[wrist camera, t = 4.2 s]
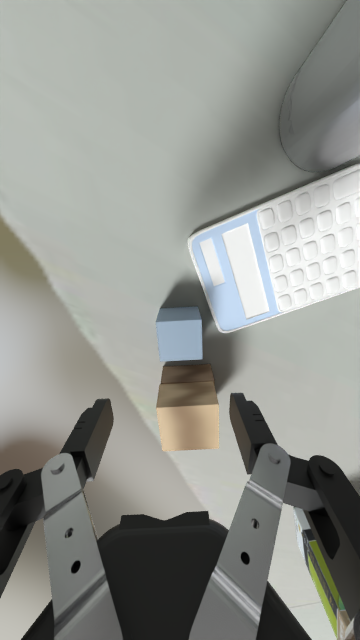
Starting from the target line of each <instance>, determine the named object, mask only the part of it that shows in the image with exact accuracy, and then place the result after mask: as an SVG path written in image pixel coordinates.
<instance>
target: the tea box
mask: <svg viewBox="0 0 360 640" xmlns="http://www.w3.org/2000/svg"><path fill="white" fill-rule="evenodd" d="M293 509H294V517H295V525H296V533H297V541H298V546H299V548H300V551H301V553H302V556H303V558H304V560H305V563H306V565H307V567H308V570H309V572H310V575H311V577H312V580H313V582H314V585H315V587H316V589H317V592H318V594H319V597H320V599H321V602H322V604H323V606H324V609H325V611H326V614H327V616H328V618H329V621H330V623H331V626H332V628H333V631H334V633H335V636H336V638H337V640H345V631H346V629H347V627H348V625H349V624H350V622H351V621H350V619H349V616H348V614H347V612H346V609H345V607H344V605H343V602H342V600H341V598H340V595H339V593H338V591H337V589H336V586H335V584H334V582H333V579H332V577H331V575H330V572H329V570H328V568H327V565H326V563H325V561H324V558H323V556H322V554H321V551H320V549H319V547H318V544H317V542H316V540H315V537H314V535H313V533H312V530H311V528H310V526H309V523H308V521H307V519H306V516H305V514H304V512H303V509H300V508H297V507H295V508H293Z"/></svg>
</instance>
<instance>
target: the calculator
mask: <svg viewBox="0 0 360 640" xmlns="http://www.w3.org/2000/svg"><path fill="white" fill-rule="evenodd" d="M347 196H348V197H347ZM342 198H343V199H342ZM286 200H287V201H286ZM322 206H323V207H322ZM272 226H273V227H272ZM325 230H326V231H325ZM322 231H323V232H322ZM304 238H305V239H304ZM188 248H189V251H190V255H191V257H192V260H193V263H194V266H195V269H196V271H197V274H198V277H199V280H200V283H201V285H202V288H203V291H204V294H205V297H206V299H207V302H208V305H209V308H210V311H211V313H212V316H213V319H214V322H215V324H216V327H217V328H218V330H219V331H220V332H222V333H229V332H233V331H236V330H239V329H242V328H245V327H248V326H251V325H253V324H256V323H259V322H262V321H265V320H268V319H271V318H274V317H276V316H279V315H282V314H285V313H288V312H291V311H294V310H296V309H299V308H302V307H305V306H308V305H311V304H314V303H317V302H319V301H322V300H325V299H328V298H331V297H334V296H337V295H340V294H342V293H345V292H348V291H351V290H354V289H357V288H360V163H358V164H355V165H352V166H350V167H347V168H345V169H343V170H340V171H338V172H335V173H333V174H331V175H328V176H326V177H324V178H321V179H319V180H317V181H314V182H312V183H310V184H307V185H305V186H303V187H300V188H298V189H296V190H293V191H291V192H288V193H286V194H284V195H281V196H279V197H277V198H274V199H272V200H270V201H267V202H265V203H263V204H260V205H258V206H256V207H253V208H251V209H249V210H246V211H244V212H242V213H239V214H237V215H234V216H232V217H230V218H227V219H225V220H223V221H220V222H218V223H216V224H213V225H211V226H209V227H206V228H204V229H202V230H200V231H198V232H196V233H194V234H193V235H191V236H190V237H189V239H188ZM326 274H327V275H326ZM309 280H310V281H309Z"/></svg>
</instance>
